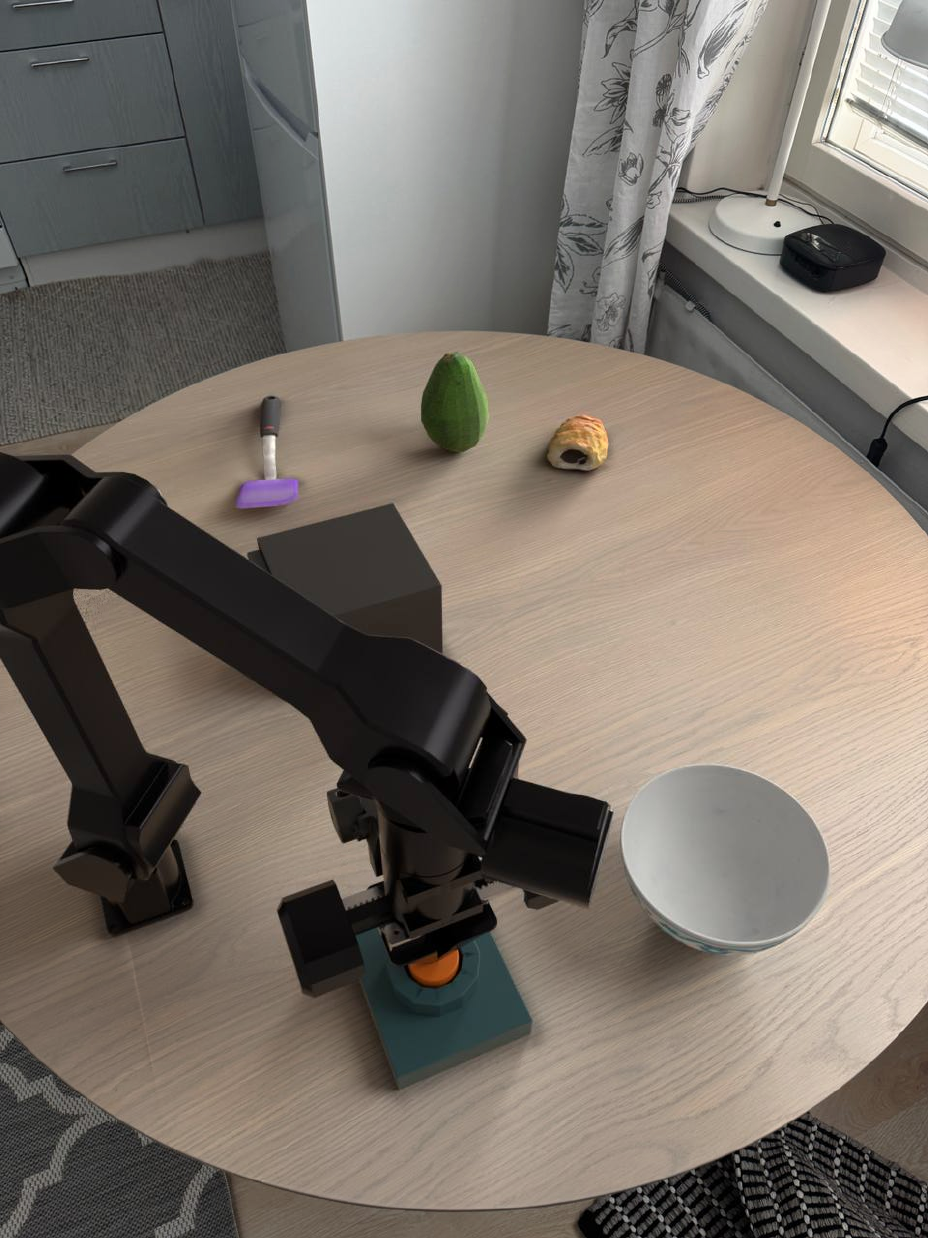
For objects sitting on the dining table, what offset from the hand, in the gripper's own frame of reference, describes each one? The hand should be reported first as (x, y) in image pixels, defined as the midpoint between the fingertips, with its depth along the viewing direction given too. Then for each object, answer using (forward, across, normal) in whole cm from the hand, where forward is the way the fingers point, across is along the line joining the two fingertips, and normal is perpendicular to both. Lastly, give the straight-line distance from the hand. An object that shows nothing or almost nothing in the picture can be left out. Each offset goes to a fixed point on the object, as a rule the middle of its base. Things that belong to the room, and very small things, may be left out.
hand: (432, 956), depth 70 cm
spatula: (+5, -6, -67) cm, 67 cm away
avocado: (+5, -27, -61) cm, 67 cm away
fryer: (+4, -6, -36) cm, 37 cm away
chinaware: (+5, -22, +2) cm, 23 cm away
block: (+4, 0, 0) cm, 4 cm away
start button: (+2, 0, 0) cm, 2 cm away
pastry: (+5, -40, -54) cm, 67 cm away
